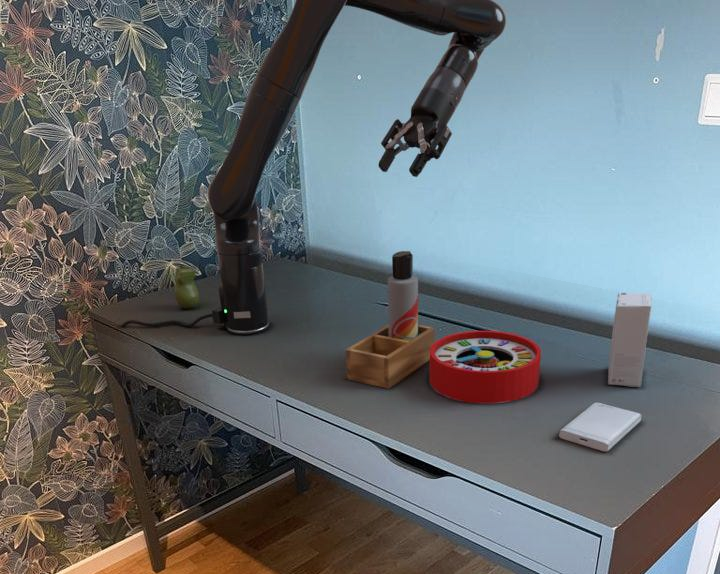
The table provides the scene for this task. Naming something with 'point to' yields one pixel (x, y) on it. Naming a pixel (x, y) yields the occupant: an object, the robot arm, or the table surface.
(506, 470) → the table surface
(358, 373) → the wooden organizer box
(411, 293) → the lotion bottle
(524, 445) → the table surface
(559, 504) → the table surface
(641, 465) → the table surface
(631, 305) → the cosmetic box
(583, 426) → the hard drive
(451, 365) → the toy clock
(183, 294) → the pear
